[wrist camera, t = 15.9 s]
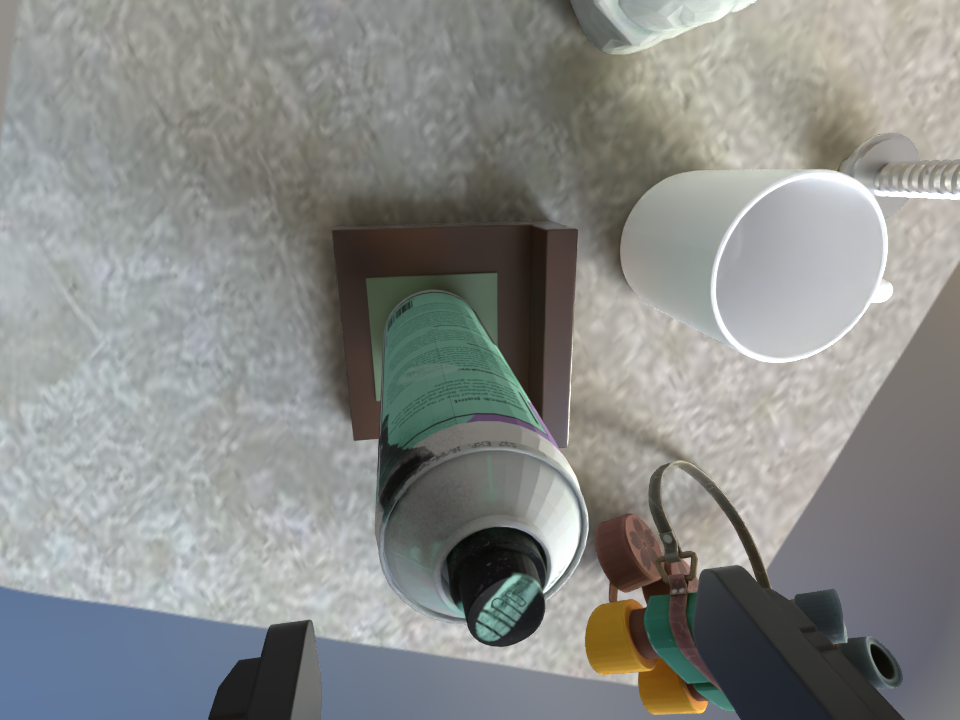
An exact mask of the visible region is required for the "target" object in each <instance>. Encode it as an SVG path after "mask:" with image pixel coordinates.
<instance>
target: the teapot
mask: <svg viewBox="0 0 960 720" xmlns="http://www.w3.org/2000/svg"><path fill="white" fill-rule="evenodd" d="M570 1H571V4H572V6H573V9H574V11H575V14H576V16H577V19H578V21H579V23H580V25H581V27H582V29H583V31H584V33H585V35H586V36H587V37H588V38H589V39H590V41H591V42H592V43H593V44H594V45H595V46H596V47H598V48H599V49H600V50H601V51H603V52H604V53H609V54H630V53H634V52H639V51H643V50H645V49H648V48H650V47H652V46H654V45H655V44H657V43H658V42H660V41H662V40H665V39H669V38H673V37H675V36H677V35H679V34H681V33H683V32H686V31H688V30H690V29H692V28H694V27H696V26H699V25H702V24H704V23H708V22H713V21H717V20H718V19H720V18H721V17H723V16H724V15H725V14H727V13H733V12H737V11H739V10H741V9H744V8H745V7H747V6H749V5H750V4H752V3H754V2H756V1H757V0H570Z"/></svg>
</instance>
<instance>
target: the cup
mask: <svg viewBox="0 0 960 720" xmlns="http://www.w3.org/2000/svg"><path fill="white" fill-rule="evenodd" d="M887 248H888V239H887V229H886V224H885V219H884V216H883V213H882V211H881V209H880V206H879V204H878V203H877V201H876V199H875V198H874V196H873V195H872V194H871V193H870V191H869V190H868V189H867V188H866V187H865V186H864V185H862V184H861V183H860V182H859V181H857V180H856V179H854V178H852V177H850V176H848V175H846V174H843V173H841V172H837V171H833V170H825V169H793V170H699V171H689V172H684V173H680V174H676V175H674V176H671V177H668V178H666V179H664V180H662V181H661V182H659V183H657V184H656V185H655V186H653V187H652V188H651V189H649V190H648V191H647V192H646V193H645V194H644V195H643V196H642V197H641V198H640V200H639V201H638V202H637V203H636V205H635V206H634V208H633V209H632V211H631V213H630V214H629V216H628V218H627V221H626V223H625V226H624V229H623V233H622V237H621V244H620V258H621V265H622V270H623V273H624V276H625V278H626V280H627V282H628V284H629V286H630V287H631V289H632V290H633V291H634V293H635V294H636V295H637V296H638V297H639V298H640V299H642V300H643V301H644V302H645V303H647V304H648V305H650V306H651V307H653V308H655V309H657V310H658V311H660V312H662V313H664V314H666V315H668V316H670V317H672V318H674V319H676V320H678V321H680V322H682V323H684V324H686V325H688V326H690V327H692V328H693V329H695V330H697V331H699V332H701V333H703V334H705V335H707V336H709V337H711V338H713V339H715V340H717V341H719V342H721V343H723V344H725V345H727V346H729V347H731V348H732V349H734V350H736V351H738V352H740V353H742V354H744V355H746V356H748V357H751V358H753V359H756V360H760V361H765V362H789V361H795V360H799V359H803V358H806V357H808V356H811V355H813V354H816V353H818V352H820V351H822V350H823V349H825V348H827V347H829V346H830V345H832V344H833V343H835V342H836V341H837V340H838V339H840V338H841V337H842V336H843V335H844V334H846V333H847V332H848V331H849V330H850V329H851V328H852V327H853V326H854V325H855V324H856V322H857V321H858V320H859V319H860V317H861V316H862V315H863V313H864V312H865V311H866V309H867V308H868V306H869V304H870V303H871V302H877V303H879V302H883V301H885V300H887V299H888V298H889V297H890V296H891V295H892V291H893V289H892V285H891V284H890V283H889V282H888V281H886V280H884V279H882V276H883V273H884V268H885V264H886V258H887Z"/></svg>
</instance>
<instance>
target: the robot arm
mask: <svg viewBox="0 0 960 720" xmlns="http://www.w3.org/2000/svg"><path fill="white" fill-rule="evenodd" d="M692 631H693V638H694V642H695V645H696V648H697V651H698V653H699V655H700V657H701V658H702V660H703V662H704V663H705V665H706V666H707V668H708V669H709V671H710V673H711V674H712V676H713V677H714V679H715V680H716V682H717V683H718V685H719V687H720V688H721V690H722V691H723V693H724V694H725V696H726V697H727V699H728V700H729V702H730V704H731V705H732V707H733V708H734V710H735V711H736V713H737V714H738V716H739V718H740V719H741V720H904V719H903V718H902V716H901V715H900V714H899V713H898V712H897V711H896V710H895V709H894V708H893V707H892V706H891V705H890V704H889V703H888V702H887V700H886V699H885V698H884V697H883V696H882V695H881V694H880V693H879V692H878V691H877V690H876V689H875V688H874V687H873V686H872V685H871V684H870V682H869V681H868V680H867V679H866V678H865V677H864V676H863V675H862V674H861V673H860V672H859V671H858V670H857V669H856V668H855V667H854V665H853V664H852V663H851V662H850V661H849V660H848V659H847V658H846V657H845V656H844V655H843V654H842V653H841V652H840V651H839V650H836V649H835V648H834V644H833V643H832V642H831V641H830V640H829V639H828V638H827V637H826V636H825V635H824V634H823V633H822V632H821V631H818V630H817V626H816V625H815V624H814V623H813V622H812V621H811V620H810V619H809V618H808V617H807V616H806V615H805V614H804V613H803V611H802V610H801V609H800V608H799V607H798V606H797V605H796V604H794V603H793V602H791V601H789V600H788V599H786V598H785V597H783V596H782V595H780V594H779V593H777V592H776V591H774V590H773V589H771V588H765V589H763V588H762V587H761V586H760V585H759V584H758V583H757V581H756V580H755V579H754V578H753V577H752V576H751V575H750V574H749V573H748V571H746V570H745V569H744V568H743V567H741V566H739V565H734V566H727V567H719V568H711V569H704V570H703V571H702V572H701V574H700V577H699V583H698V590H697V596H696V603H695V610H694V616H693V623H692ZM321 709H322V683H321V674H320V668H319V661H318V654H317V647H316V640H315V634H314V627H313V623H312V621H311V620H304V621H297V622H289V623H282V624H274V625H271V626H270V627H269V629H268V632H267V635H266V639H265V642H264V646H263V650H262V654H261V657H259V658H252V659H245V660H239V661H238V662H237V664H236V665H235V666H234V668H233V669H232V670H231V672H230V673H229V674H228V676H227V677H226V678H225V680H224V681H223V682H222V684H221V685H220V686H219V688H218V690H217V694H216V696H215V699H214V702H213V706H212V708H211V711H210V715H209V718H208V719H209V720H320V718H321Z"/></svg>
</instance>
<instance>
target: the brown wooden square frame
mask: <svg viewBox="0 0 960 720" xmlns="http://www.w3.org/2000/svg"><path fill="white" fill-rule="evenodd" d="M332 235H333V245H334V254H335V264H336V274H337V284H338V293H339V303H340V313H341V322H342V332H343V342H344V351H345V361H346V371H347V381H348V390H349V400H350V410H351V419H352V429H353V439H354V441H357V440H369V439H379V424H380V401H381V379H382V356H383V334H384V329H385V325H386V322H387V320H388V318H389V315H390V313H391V312H392V311H393V309H394V308H395V307H396V305H398V304H399V303H400V302H401V301H402V300H403V299H405V298H406V297H408V296H410V295H412V294H414V293H417V292H420V291H424V290H431V289H433V290H444V291H447V292H451V293H453V294H455V295H457V296H460V297H461V298H462V299H464V300H465V301H466V302H467V303H468V304H469V305H470V306H471V307H472V308H473V309H474V310H475V312H476V313H477V315H478V317H479V318H480V320H481V321H482V323H483V325H484V326H485V328H486V330H487V331H488V333H489V335H490V336H491V338H492V339H493V341H494V343H495V344H496V346H497V348H498V349H499V351H500V352H501V354H502V356H503V357H504V359H505V361H506V362H507V364H508V365H509V367H510V369H511V370H512V372H513V374H514V375H515V377H516V379H517V380H518V382H519V383H520V385H521V387H522V388H523V390H524V392H525V393H526V395H527V396H528V398H529V400H530V401H531V403H532V405H533V406H534V408H535V410H536V411H537V413H538V414H539V416H540V418H541V419H542V421H543V423H544V424H545V426H546V427H547V429H548V431H549V432H550V434H551V436H552V437H553V439H554V440H555V442H556V444H557V445H558V447H559V448H566V447H568V436H569V414H570V392H571V370H572V348H573V326H574V304H575V282H576V260H577V238H578V230H577V229H576V228H572V227H569V226H566V225H562V224H559V223H556V222H553V221H514V222H479V223H443V224H408V225H372V226H337V227H335V228H334V229H333V230H332Z"/></svg>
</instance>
